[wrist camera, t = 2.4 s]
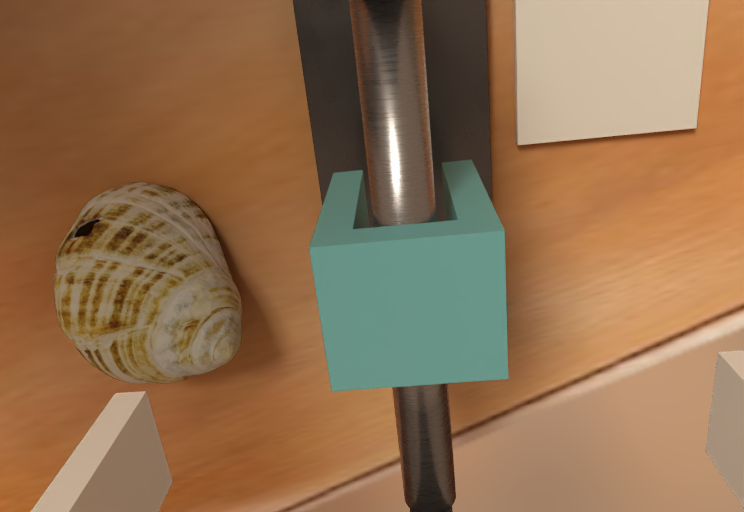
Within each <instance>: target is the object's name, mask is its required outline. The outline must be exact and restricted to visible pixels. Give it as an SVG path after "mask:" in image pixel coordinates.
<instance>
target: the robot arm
mask: <svg viewBox="0 0 744 512" xmlns="http://www.w3.org/2000/svg"><path fill="white" fill-rule="evenodd" d="M706 453H707V454H708V456H709V457H710V459H711V460H712V462H713V463H714V465H715V466H716V468H717V469H718V471H719V472H720V474H721V475H722V477H723V478H724V480H725V481H726V482H727V484H728V485H729V487H730V488H731V490H732V491H733V493H734V494H735V496H736V497H737V499H738V500H739V502H740V503H741V505H742V506H743V508H744V350H741V351H727V352H718V355H717V363H716V371H715V379H714V388H713V395H712V403H711V412H710V419H709V427H708V435H707V444H706ZM172 482H173V481H172V478H171V474H170V471H169V467H168V464H167V460H166V457H165V454H164V450H163V447H162V443H161V440H160V436H159V433H158V430H157V426H156V423H155V419H154V416H153V413H152V409H151V406H150V402H149V399H148V395H147V392H146V391H141V392H126V393H115V394H114V396H113V397H112V399H111V400H110V401H109V403H108V404H107V406H106V407H105V408H104V410H103V411H102V413H101V414H100V415H99V417H98V418H97V420H96V421H95V422H94V424H93V425H92V427H91V428H90V429H89V431H88V432H87V434H86V435H85V436H84V438H83V439H82V441H81V442H80V443H79V445H78V446H77V448H76V449H75V450H74V452H73V453H72V455H71V456H70V457H69V459H68V460H67V462H66V463H65V464H64V466H63V467H62V469H61V470H60V471H59V473H58V474H57V476H56V477H55V478H54V480H53V481H52V483H51V484H50V485H49V487H48V488H47V490H46V491H45V492H44V494H43V495H42V497H41V498H40V499H39V501H38V502H37V504H36V505H35V506H34V508H33V509H32V511H31V512H159V510H160V508H161V506H162V503H163V501H164V499H165V497H166V495H167V493H168V490H169V488H170V486H171V484H172Z"/></svg>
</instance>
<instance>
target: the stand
mask: <svg viewBox="0 0 744 512" xmlns="http://www.w3.org/2000/svg"><path fill="white" fill-rule="evenodd" d="M293 5H294V12H295V19H296V26H297V33H298V40H299V46H300V53H301V60H302V67H303V74H304V81H305V88H306V95H307V102H308V109H309V116H310V123H311V129H312V136H313V143H314V150H315V157H316V164H317V171H318V178H319V185H320V192H321V199H322V205H323V203H324V200H325V197H326V194H327V191H328V188H329V185H330V182H331V179H332V176H333V173H336V172H347V171H357V170H363V176H364V185H365V193H366V202H367V211H368V219H369V228H373V227H384V226H396V225H407V224H418V223H429V222H441V221H445V206H444V190H443V174H442V162H451V161H462V160H472V161H473V163H474V166H475V168H476V170H477V172H478V174H479V176H480V178H481V181H482V183H483V185H484V187H485V189H486V191H487V194H488V196H489V198H490V200H491V202H492V184H491V153H490V122H489V91H488V60H487V28H486V0H293ZM392 389H393V398H394V407H395V416H396V425H397V434H398V443H399V452H400V461H401V470H402V479H403V488H404V496H405V501H406V504H407V505H408V507H409V508H410V512H452V505H453V503H454V501H455V498H456V492H455V478H454V464H453V449H452V434H451V420H450V406H449V391H448V383H445V384H431V385H417V386H402V387H392Z"/></svg>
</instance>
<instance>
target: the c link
mask: <svg viewBox="0 0 744 512" xmlns="http://www.w3.org/2000/svg"><path fill="white" fill-rule="evenodd" d="M442 174H443V190H444V206H445V221H441V222H429V223H418V224H407V225H396V226H384V227H373V228H369V219H368V211H367V202H366V193H365V185H364V176H363V170H357V171H347V172H336V173H333V176H332V179H331V182H330V185H329V188H328V191H327V194H326V197H325V200H324V203H323V206H322V210H321V213H320V216H319V219H318V222H317V225H316V228H315V231H314V234H313V237H312V240H311V243H310V246H309V251H310V257H311V264H312V270H313V276H314V283H315V289H316V295H317V302H318V308H319V314H320V321H321V327H322V333H323V340H324V346H325V352H326V359H327V365H328V371H329V378H330V384H331V390H332V391H345V390H360V389H374V388H388V387H402V386H417V385H431V384H445V383H459V382H474V381H488V380H502V379H508V346H507V304H506V263H505V230H504V228H503V226H502V224H501V222H500V219H499V217H498V215H497V213H496V211H495V209H494V206H493V204H492V202H491V200H490V198H489V196H488V194H487V191H486V189H485V187H484V185H483V183H482V181H481V178H480V176H479V174H478V172H477V170H476V168H475V166H474V163H473V161H472V160H462V161H451V162H442Z"/></svg>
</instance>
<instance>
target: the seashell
mask: <svg viewBox="0 0 744 512" xmlns="http://www.w3.org/2000/svg"><path fill="white" fill-rule="evenodd" d="M96 220H102V221H100V222H98V223H96ZM55 261H56V269H57V272H56V274H55V277H54V301H55V308H56V313H57V317H58V321H59V326H60V328H61V329H62V331H63V332H64V333H65V334H66V336H67V337H69V338H70V339H71V340H72V341H73V342H74V344H75V346H76V348H77V349H78V351H79V352H80V353H81V354H82V356H83V357H84V358H85V359H86V360H87V361H89V362H90V363H91V364H92V365H93V366H95V367H96V368H98V369H99V370H100V371H102V372H103V373H105V374H106V375H108V376H110V377H112V378H115V379H117V380H120V381H123V382H128V383H142V384H159V383H173V382H177V381H182V380H185V379H187V378H188V377H190V376H191V375H201V374H204V373H208V372H211V371H213V370H215V369H217V368H218V367H220V366H222V365H224V364H226V363H227V362H229V361H230V360H231V359H232V358H233V357H234V356H235V354H236V353H237V351H238V348H239V347H240V344H241V339H242V332H241V322H242V302H241V297H240V294H239V291H238V289H237V287H236V285H235V284H234V282H233V280H232V276H231V273H230V271H229V268H228V266H227V263H226V260H225V257H224V253H223V251H222V248H221V245H220V243H219V240H218V239H217V237H216V234H215V232H214V230H213V227H212V225H211V223H210V222H209V220H208V219H207V217H206V216H205V214H204V213H203V212H202V210H201V209H200V208H199V207H198V206H197V205H196V204H195V203H194V202H193V201H192V200H191V199H189V198H188V197H187V196H185V195H184V194H182V193H180V192H179V191H177V190H174V189H172V188H170V187H166V186H160V185H155V184H152V183H146V182H134V183H128V184H125V185H121V186H118V187H116V188H113V189H110V190H107V191H105V192H103V193H101V194H99V195H98V196H96V197H94V198H93V199H91V200H90V201H89V202H88V203H87V204H86V205H85V206H84V208H83V209H82V211H81V212H80V215H79V217H78V218H77V219H76V221H75V222H74V224H73V226H72V227H71V229H70V231H69V232H68V234H67V235H66V236H65V237H64V238H63V240H62V242H61V244H60V246H59V248H58V250H57V253H56V258H55Z"/></svg>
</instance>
